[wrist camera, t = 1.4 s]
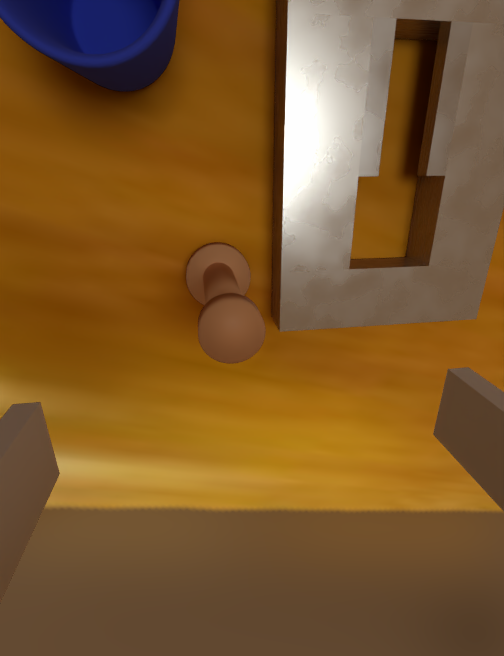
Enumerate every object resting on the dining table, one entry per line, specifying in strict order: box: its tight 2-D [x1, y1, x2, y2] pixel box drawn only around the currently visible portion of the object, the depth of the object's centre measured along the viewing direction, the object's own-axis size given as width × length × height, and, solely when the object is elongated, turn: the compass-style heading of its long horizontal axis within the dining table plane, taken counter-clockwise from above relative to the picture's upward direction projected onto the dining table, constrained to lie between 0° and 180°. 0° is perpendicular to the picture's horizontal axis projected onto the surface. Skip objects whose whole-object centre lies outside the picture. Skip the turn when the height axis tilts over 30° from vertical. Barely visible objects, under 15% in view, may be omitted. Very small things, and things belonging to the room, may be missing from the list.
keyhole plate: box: [271, 0, 504, 331], centre depth 27 cm, size 26×17×3 cm, turn 1°
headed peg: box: [186, 242, 265, 363], centre depth 24 cm, size 5×5×12 cm
